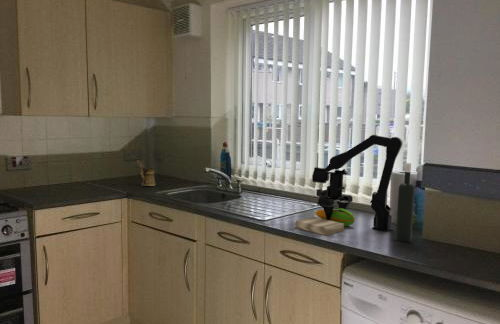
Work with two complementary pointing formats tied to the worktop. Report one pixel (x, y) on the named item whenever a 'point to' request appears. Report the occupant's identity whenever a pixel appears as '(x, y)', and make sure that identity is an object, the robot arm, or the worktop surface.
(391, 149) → the robot arm
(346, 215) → the corn
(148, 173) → the wooden mug
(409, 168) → the wine bottle
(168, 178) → the worktop surface
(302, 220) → the birch base
